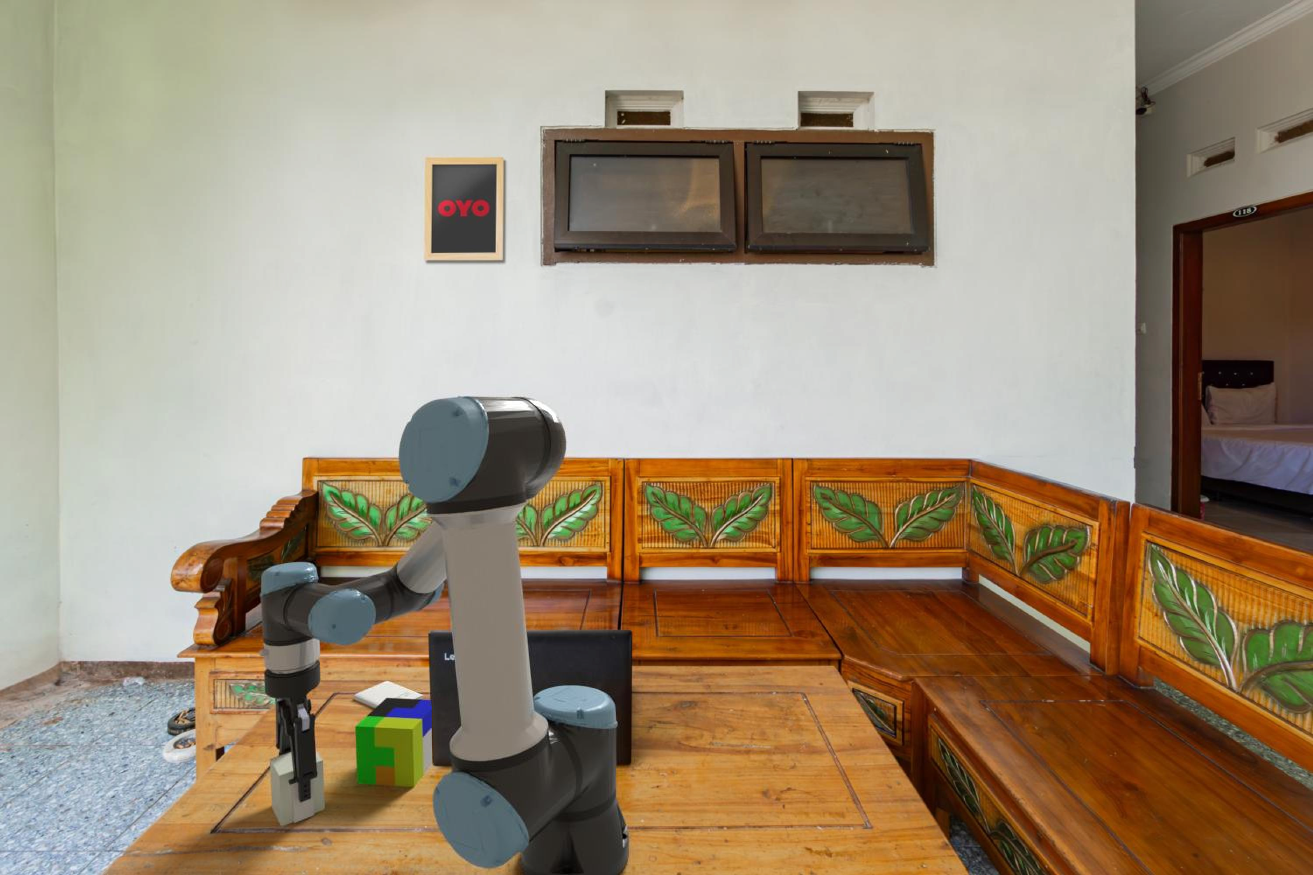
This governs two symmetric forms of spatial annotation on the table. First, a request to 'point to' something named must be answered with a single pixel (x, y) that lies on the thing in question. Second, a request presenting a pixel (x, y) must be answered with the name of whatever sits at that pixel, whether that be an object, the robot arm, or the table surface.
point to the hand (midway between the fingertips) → (297, 806)
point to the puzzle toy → (395, 743)
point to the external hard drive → (385, 694)
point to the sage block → (283, 790)
